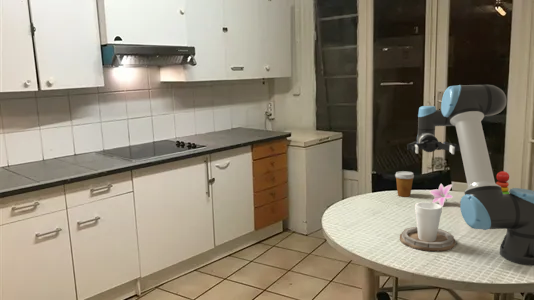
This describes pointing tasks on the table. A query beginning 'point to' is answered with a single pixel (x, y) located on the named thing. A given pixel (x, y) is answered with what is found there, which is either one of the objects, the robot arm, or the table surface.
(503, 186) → the stacking toy
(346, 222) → the table surface
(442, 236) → the plate
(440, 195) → the lily
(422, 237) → the foam cup
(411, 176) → the disposable coffee cup
